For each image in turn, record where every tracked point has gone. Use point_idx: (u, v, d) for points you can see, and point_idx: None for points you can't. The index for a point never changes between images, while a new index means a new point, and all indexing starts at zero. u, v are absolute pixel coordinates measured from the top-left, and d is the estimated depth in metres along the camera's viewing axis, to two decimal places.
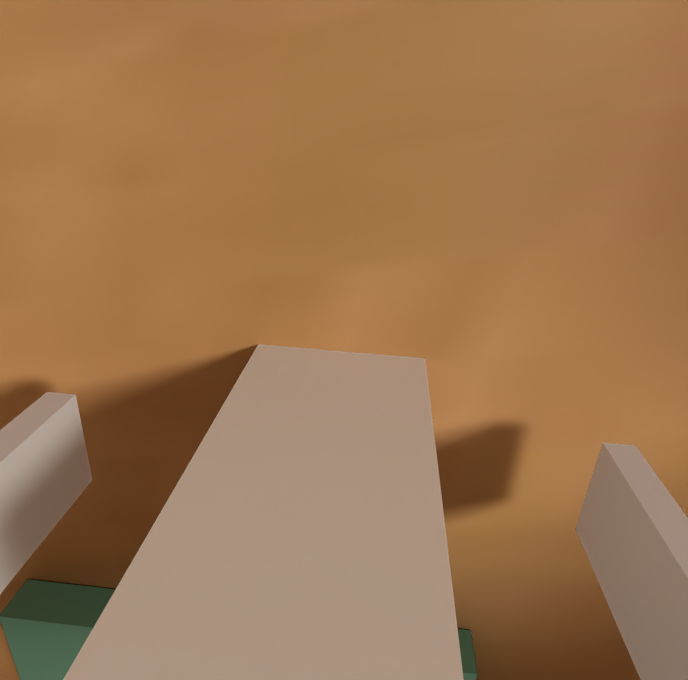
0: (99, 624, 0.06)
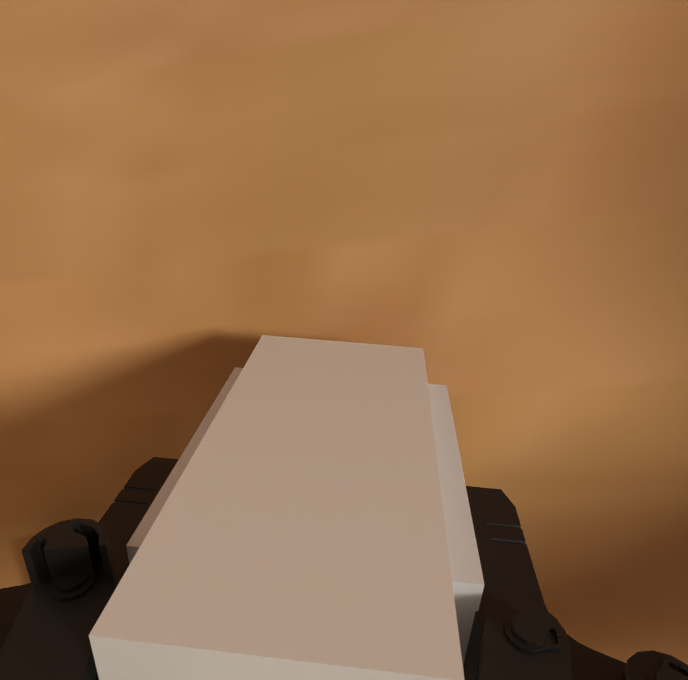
0: (122, 586, 0.07)
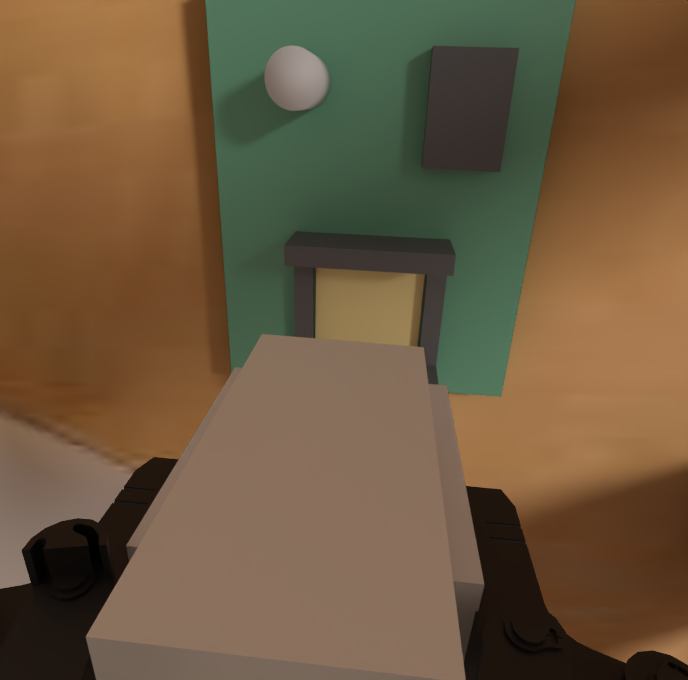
0: (119, 586, 0.07)
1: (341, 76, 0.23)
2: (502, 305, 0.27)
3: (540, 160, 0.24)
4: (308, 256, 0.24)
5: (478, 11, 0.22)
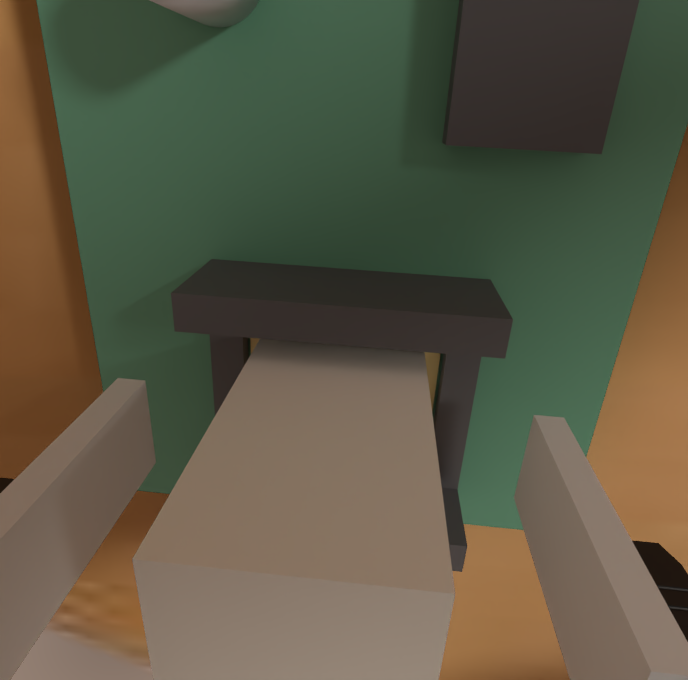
0: (157, 523, 0.08)
1: None
2: (577, 393, 0.16)
3: (674, 134, 0.12)
4: (219, 314, 0.12)
5: None
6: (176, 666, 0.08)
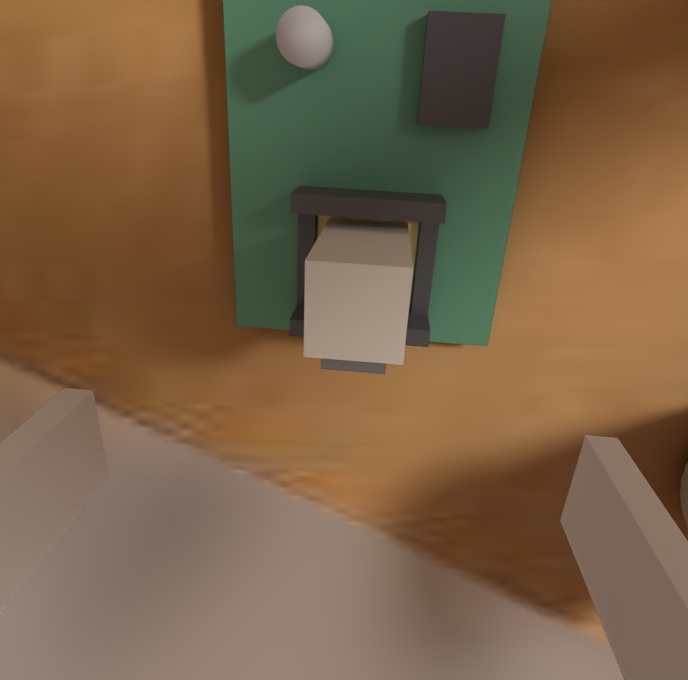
0: (307, 258, 0.22)
1: (344, 39, 0.26)
2: (489, 258, 0.30)
3: (524, 120, 0.27)
4: (312, 204, 0.26)
5: None
6: (313, 312, 0.22)
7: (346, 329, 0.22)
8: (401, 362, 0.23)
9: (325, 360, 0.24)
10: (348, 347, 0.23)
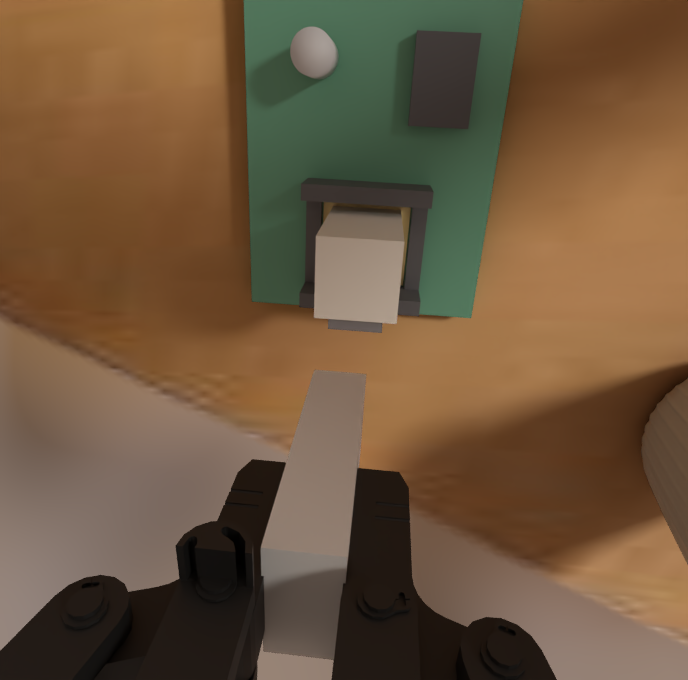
0: (317, 234, 0.27)
1: (347, 53, 0.30)
2: (471, 240, 0.34)
3: (499, 121, 0.31)
4: (319, 192, 0.31)
5: (451, 5, 0.29)
6: (322, 279, 0.27)
7: (349, 294, 0.27)
8: (395, 321, 0.28)
9: (331, 321, 0.28)
10: (351, 309, 0.27)
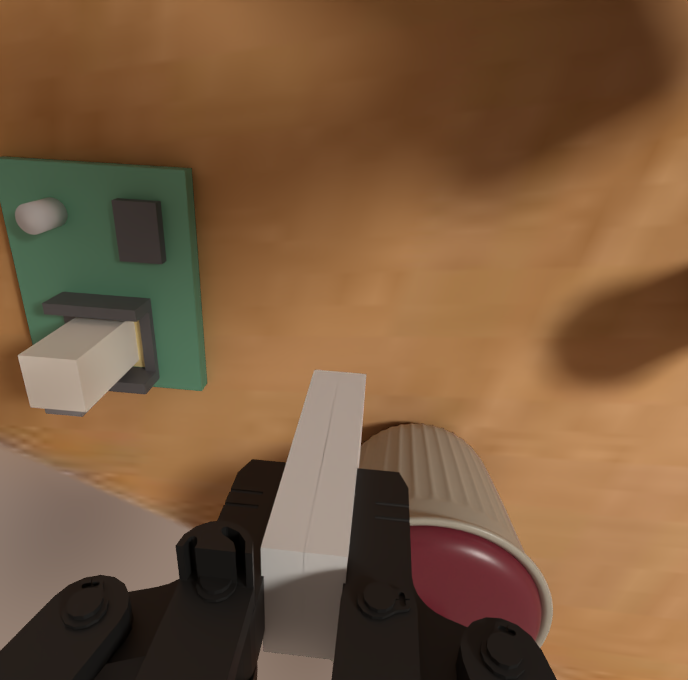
0: (25, 352, 0.38)
1: (72, 210, 0.42)
2: (188, 336, 0.46)
3: (188, 257, 0.43)
4: (56, 309, 0.43)
5: (137, 181, 0.41)
6: (29, 382, 0.39)
7: (49, 392, 0.39)
8: (85, 410, 0.39)
9: (47, 408, 0.40)
10: (53, 402, 0.39)
